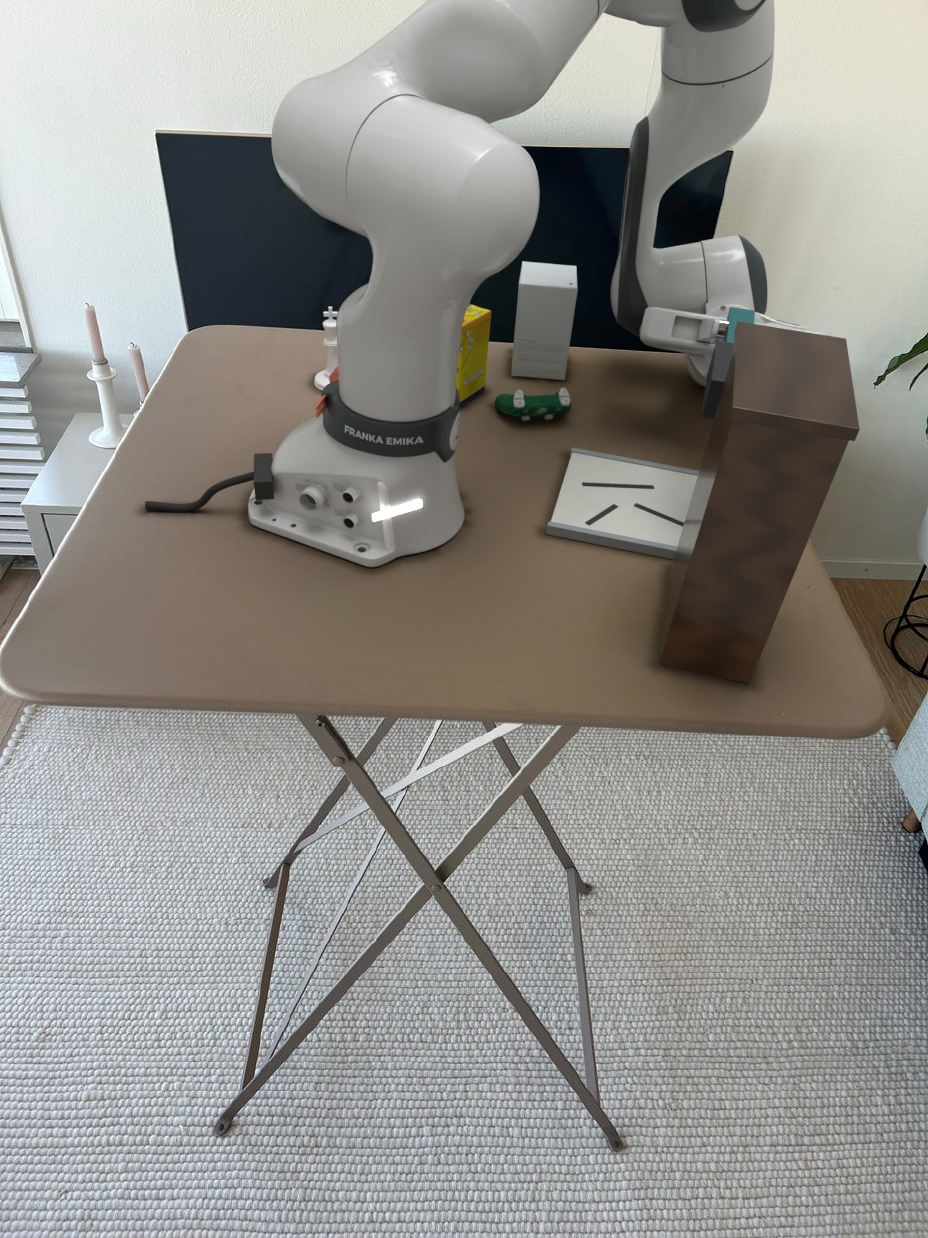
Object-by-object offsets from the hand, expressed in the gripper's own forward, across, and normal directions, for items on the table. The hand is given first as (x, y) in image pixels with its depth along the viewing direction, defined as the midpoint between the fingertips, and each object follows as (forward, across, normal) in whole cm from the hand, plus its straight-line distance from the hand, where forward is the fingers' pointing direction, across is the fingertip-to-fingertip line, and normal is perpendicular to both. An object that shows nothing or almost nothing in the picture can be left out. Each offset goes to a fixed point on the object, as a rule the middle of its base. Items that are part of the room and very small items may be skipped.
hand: (740, 330), depth 90 cm
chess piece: (-13, -47, +12) cm, 50 cm away
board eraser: (+3, 0, +5) cm, 5 cm away
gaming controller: (-14, -21, +12) cm, 28 cm away
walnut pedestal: (+13, +2, +28) cm, 31 cm away
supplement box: (-16, -32, +11) cm, 37 cm away
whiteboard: (-1, -6, +20) cm, 20 cm away
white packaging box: (-26, -23, +5) cm, 35 cm away
